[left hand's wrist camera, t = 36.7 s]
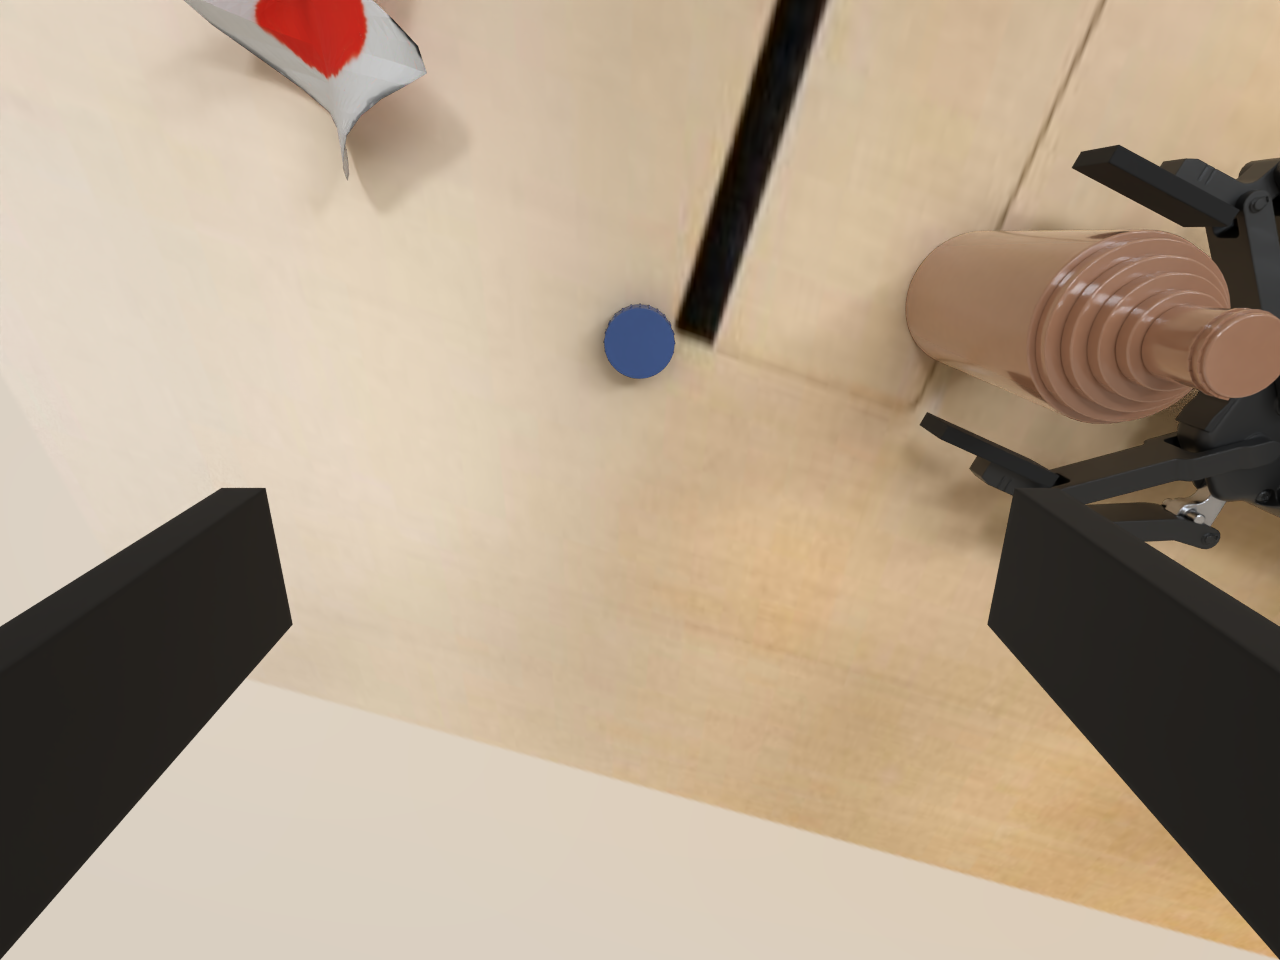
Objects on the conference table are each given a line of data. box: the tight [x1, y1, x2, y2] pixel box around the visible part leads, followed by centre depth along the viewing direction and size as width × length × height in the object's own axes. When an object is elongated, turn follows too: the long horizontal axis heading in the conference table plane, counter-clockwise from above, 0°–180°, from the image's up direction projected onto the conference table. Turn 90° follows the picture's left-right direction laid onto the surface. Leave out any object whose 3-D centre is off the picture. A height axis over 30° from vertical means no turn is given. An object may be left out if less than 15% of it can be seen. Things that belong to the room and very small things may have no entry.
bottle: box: [906, 230, 1280, 424], centre depth 31 cm, size 8×8×19 cm
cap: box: [604, 304, 675, 379], centre depth 39 cm, size 4×4×2 cm
